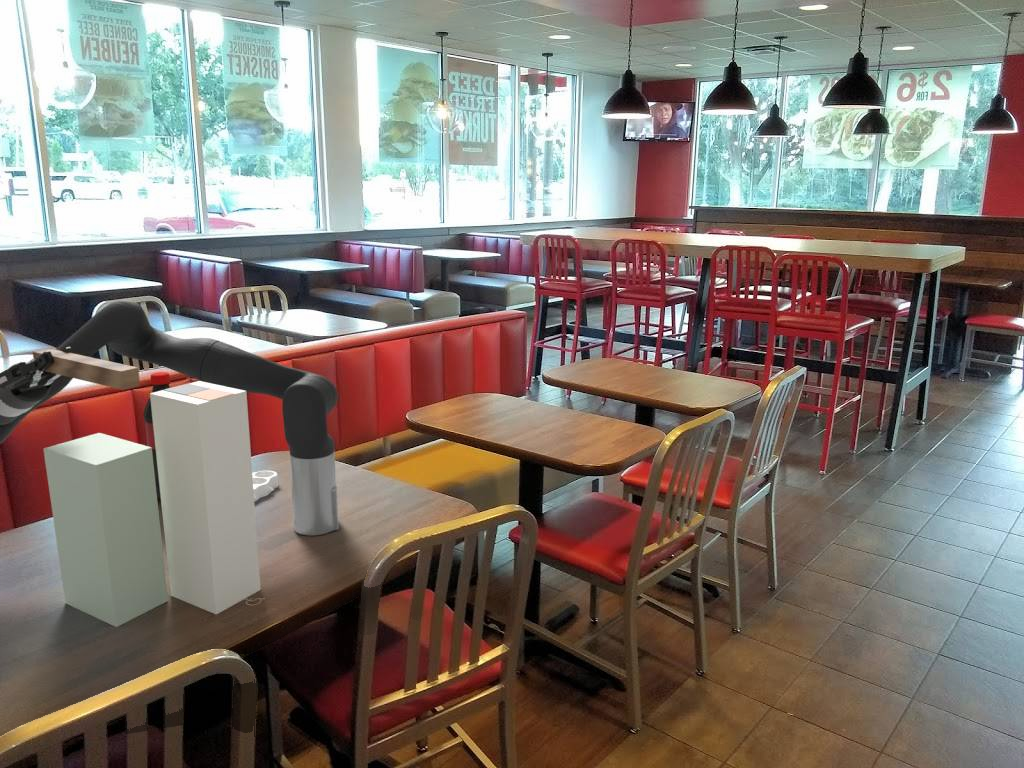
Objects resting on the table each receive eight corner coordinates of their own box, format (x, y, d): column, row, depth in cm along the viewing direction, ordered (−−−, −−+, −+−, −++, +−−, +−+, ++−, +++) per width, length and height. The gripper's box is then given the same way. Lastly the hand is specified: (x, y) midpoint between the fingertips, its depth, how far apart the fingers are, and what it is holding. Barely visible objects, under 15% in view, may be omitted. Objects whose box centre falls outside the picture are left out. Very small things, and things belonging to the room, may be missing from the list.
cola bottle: (199, 492, 190) (188, 370, 182) (173, 505, 182) (161, 379, 174) (170, 487, 192) (158, 367, 185) (144, 500, 185) (130, 375, 177)
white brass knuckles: (246, 477, 201) (292, 487, 195) (190, 502, 185) (238, 515, 179) (245, 464, 200) (291, 474, 194) (189, 489, 184) (237, 501, 178)
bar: (34, 368, 136) (32, 351, 135) (52, 365, 138) (50, 348, 137) (122, 390, 124) (120, 371, 123) (140, 385, 127) (138, 367, 126)
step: (65, 603, 141) (43, 448, 133) (117, 579, 149) (99, 432, 142) (116, 627, 134) (96, 465, 126) (167, 600, 142) (151, 447, 135)
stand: (171, 595, 144) (149, 392, 134) (216, 572, 152) (199, 380, 142) (216, 614, 138) (197, 404, 128) (260, 589, 146) (246, 390, 137)
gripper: (-33, 379, 137) (8, 340, 128) (48, 363, 149) (91, 327, 139) (-15, 419, 137) (27, 383, 128) (64, 400, 149) (108, 366, 139)
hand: (60, 354), depth 134 cm, fingers closed on bar, 3 cm apart
